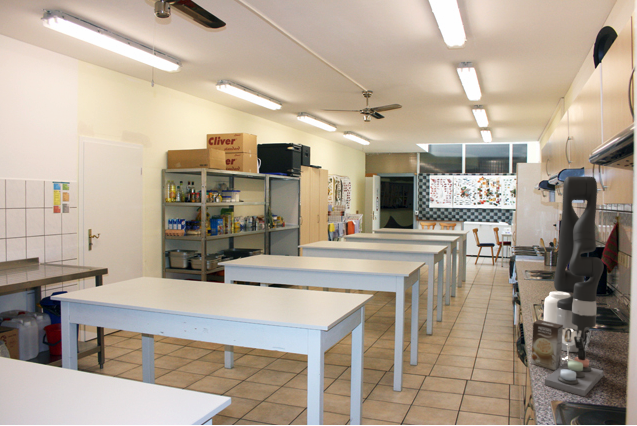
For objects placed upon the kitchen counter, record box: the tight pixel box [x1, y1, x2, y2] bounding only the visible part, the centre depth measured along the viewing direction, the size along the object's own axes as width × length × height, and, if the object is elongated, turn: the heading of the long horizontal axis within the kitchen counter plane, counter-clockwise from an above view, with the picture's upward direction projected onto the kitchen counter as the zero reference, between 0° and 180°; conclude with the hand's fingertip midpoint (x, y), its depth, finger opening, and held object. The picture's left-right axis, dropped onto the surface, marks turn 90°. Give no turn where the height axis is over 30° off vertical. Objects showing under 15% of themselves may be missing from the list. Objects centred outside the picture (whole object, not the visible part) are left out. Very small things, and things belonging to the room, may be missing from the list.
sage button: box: [567, 361, 583, 371], centre depth 157 cm, size 5×5×2 cm
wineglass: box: [561, 328, 576, 362], centre depth 177 cm, size 6×6×12 cm
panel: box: [544, 361, 604, 397], centre depth 157 cm, size 24×12×3 cm, turn 135°
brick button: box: [573, 356, 590, 367], centre depth 163 cm, size 5×5×2 cm
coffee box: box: [530, 319, 563, 371], centre depth 171 cm, size 9×6×16 cm
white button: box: [560, 369, 576, 381], centre depth 151 cm, size 5×5×2 cm
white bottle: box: [543, 290, 571, 323], centre depth 209 cm, size 12×12×20 cm
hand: (581, 359), depth 162 cm, fingers closed
